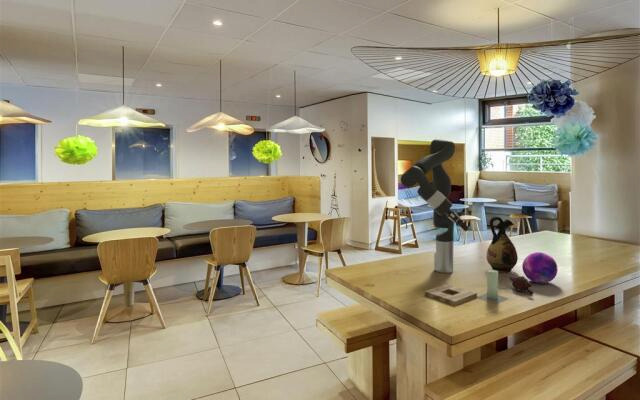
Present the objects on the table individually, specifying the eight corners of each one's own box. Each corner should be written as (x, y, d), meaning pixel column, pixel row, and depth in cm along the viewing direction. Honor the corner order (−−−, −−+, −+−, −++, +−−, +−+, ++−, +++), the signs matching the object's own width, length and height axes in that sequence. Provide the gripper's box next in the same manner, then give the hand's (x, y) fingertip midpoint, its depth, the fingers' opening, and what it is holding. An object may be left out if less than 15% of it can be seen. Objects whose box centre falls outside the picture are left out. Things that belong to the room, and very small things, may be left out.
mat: (475, 298, 169) (475, 297, 169) (488, 293, 174) (488, 292, 174) (497, 304, 161) (497, 303, 161) (509, 299, 166) (509, 298, 166)
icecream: (501, 273, 183) (523, 285, 169) (515, 268, 184) (538, 280, 170) (504, 286, 185) (525, 299, 170) (517, 281, 186) (540, 294, 171)
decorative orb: (548, 289, 177) (549, 258, 176) (516, 282, 189) (517, 252, 188) (562, 283, 186) (563, 253, 185) (530, 276, 198) (531, 247, 197)
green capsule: (484, 297, 168) (485, 271, 167) (490, 295, 170) (490, 269, 169) (494, 300, 164) (494, 273, 163) (499, 298, 167) (500, 271, 166)
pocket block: (424, 296, 173) (424, 291, 173) (446, 288, 182) (446, 284, 182) (454, 306, 160) (454, 301, 160) (476, 297, 169) (476, 293, 169)
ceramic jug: (510, 266, 216) (511, 214, 213) (522, 274, 201) (523, 218, 198) (479, 266, 218) (480, 214, 215) (488, 274, 202) (489, 219, 199)
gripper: (447, 198, 161) (475, 225, 160) (442, 194, 175) (468, 219, 174) (434, 210, 162) (462, 237, 161) (430, 206, 176) (456, 230, 175)
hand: (465, 228), depth 168 cm, fingers open, 8 cm apart
